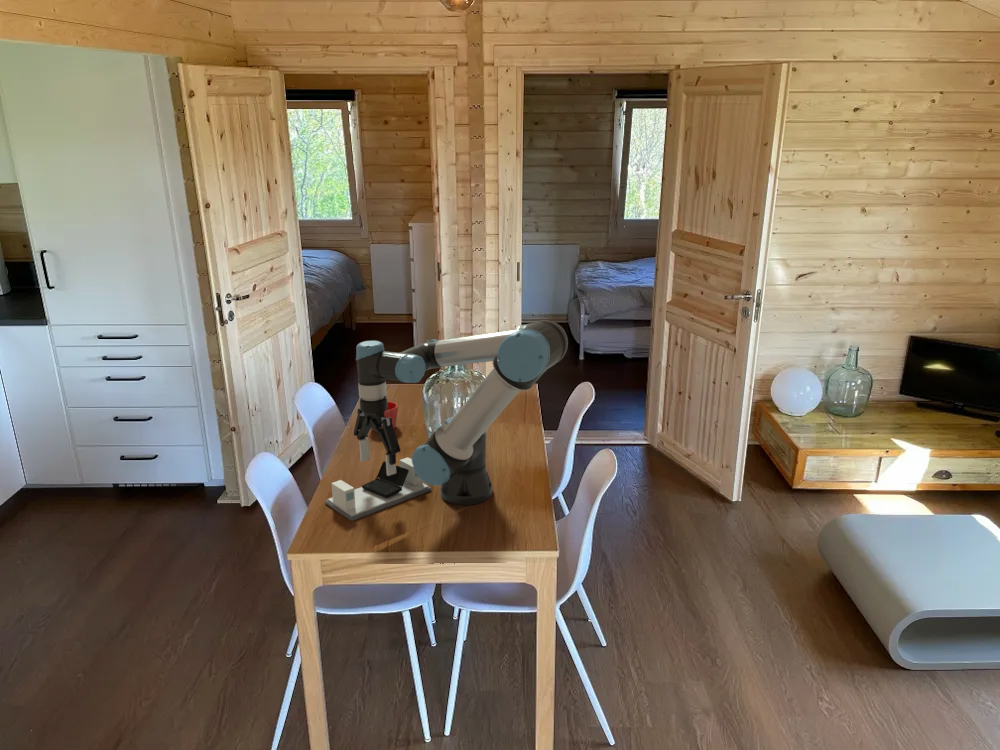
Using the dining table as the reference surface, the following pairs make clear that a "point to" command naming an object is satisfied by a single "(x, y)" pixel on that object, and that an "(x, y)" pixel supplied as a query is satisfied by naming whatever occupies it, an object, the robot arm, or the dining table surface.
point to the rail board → (373, 495)
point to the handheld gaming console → (387, 482)
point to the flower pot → (391, 412)
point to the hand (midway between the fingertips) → (378, 467)
